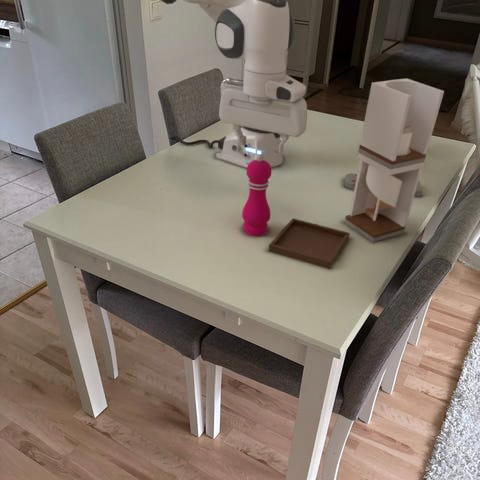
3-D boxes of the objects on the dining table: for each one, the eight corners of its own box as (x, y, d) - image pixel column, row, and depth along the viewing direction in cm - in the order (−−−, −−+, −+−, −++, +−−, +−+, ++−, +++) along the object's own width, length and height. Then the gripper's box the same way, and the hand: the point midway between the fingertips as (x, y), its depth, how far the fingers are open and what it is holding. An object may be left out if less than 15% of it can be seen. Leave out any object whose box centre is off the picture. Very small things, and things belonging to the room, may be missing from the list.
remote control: (420, 197, 146) (422, 190, 144) (344, 188, 148) (345, 181, 147) (417, 186, 152) (419, 179, 150) (344, 177, 154) (346, 171, 153)
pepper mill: (273, 227, 128) (280, 152, 115) (262, 239, 123) (268, 162, 110) (248, 220, 130) (252, 146, 118) (236, 232, 125) (239, 156, 112)
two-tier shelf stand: (344, 222, 132) (371, 82, 109) (374, 214, 136) (406, 78, 114) (372, 242, 124) (408, 96, 102) (403, 233, 128) (444, 91, 106)
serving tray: (268, 251, 119) (269, 244, 118) (292, 224, 130) (292, 218, 129) (329, 268, 114) (330, 262, 113) (348, 239, 125) (349, 232, 124)
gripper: (214, 79, 105) (213, 143, 114) (302, 94, 99) (295, 161, 108) (227, 73, 110) (226, 135, 118) (313, 87, 103) (305, 152, 112)
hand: (259, 148), depth 113 cm, fingers open, 8 cm apart
